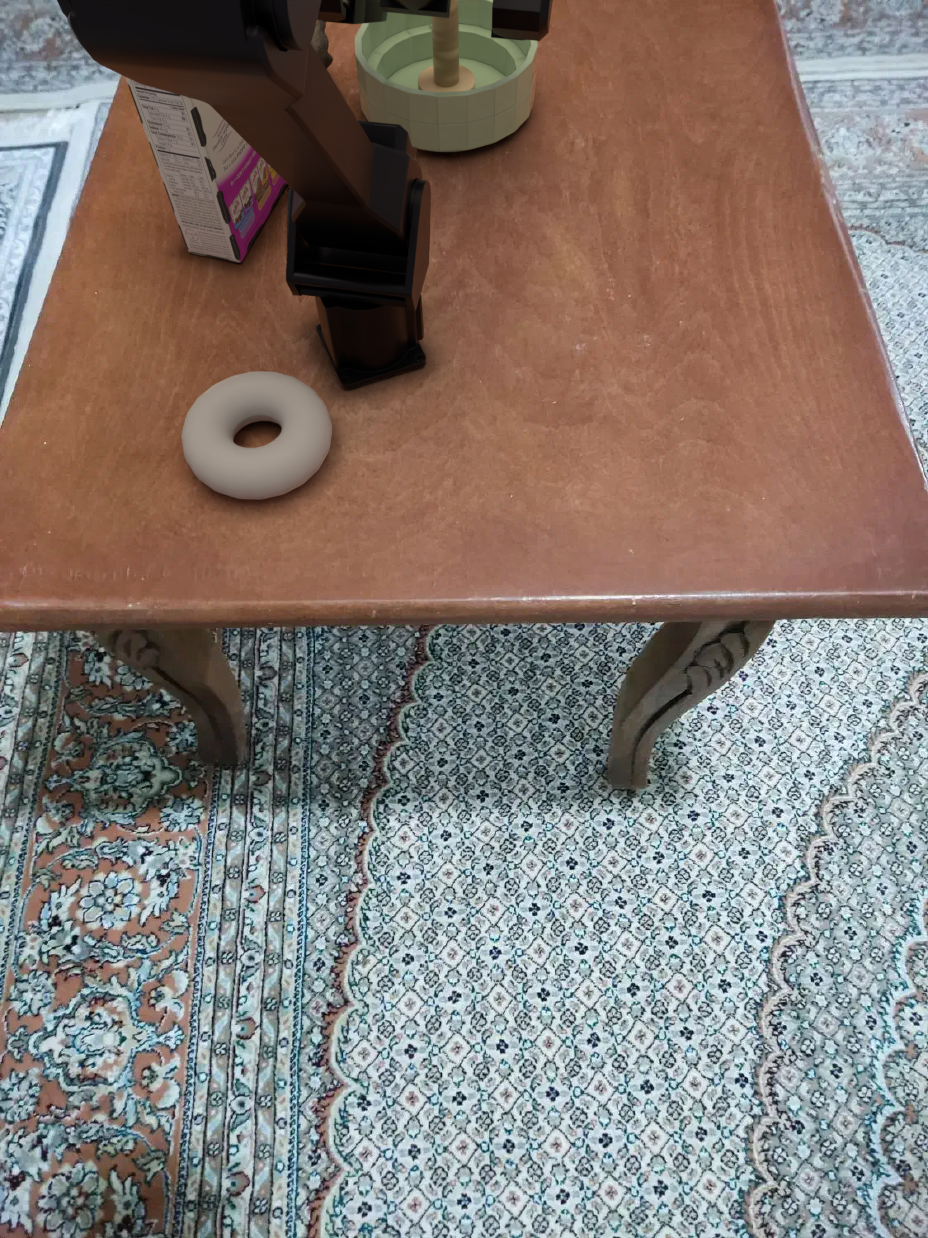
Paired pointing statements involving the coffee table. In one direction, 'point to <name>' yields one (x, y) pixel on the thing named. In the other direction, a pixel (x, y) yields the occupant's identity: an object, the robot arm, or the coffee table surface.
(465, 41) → the bowl
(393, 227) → the robot arm
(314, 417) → the donut
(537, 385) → the coffee table surface
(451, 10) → the post
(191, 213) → the candy bar box
